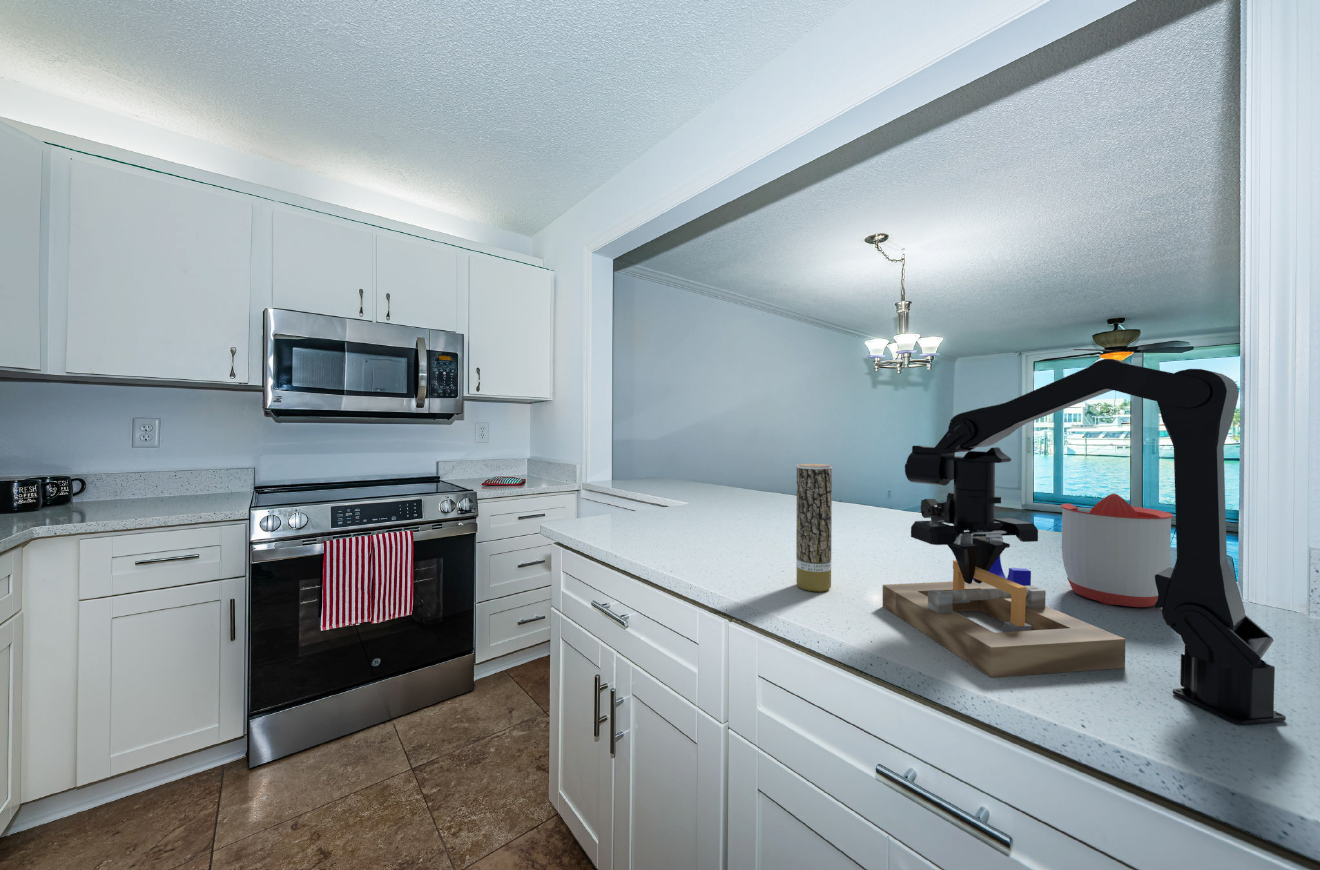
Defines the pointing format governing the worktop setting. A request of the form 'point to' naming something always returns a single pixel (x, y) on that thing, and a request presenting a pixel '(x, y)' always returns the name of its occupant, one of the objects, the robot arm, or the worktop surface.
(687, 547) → the worktop surface
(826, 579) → the paper tube
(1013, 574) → the cable clip
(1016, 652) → the wooden picture frame
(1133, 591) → the citrus juicer
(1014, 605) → the orange staple arch
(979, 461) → the robot arm
